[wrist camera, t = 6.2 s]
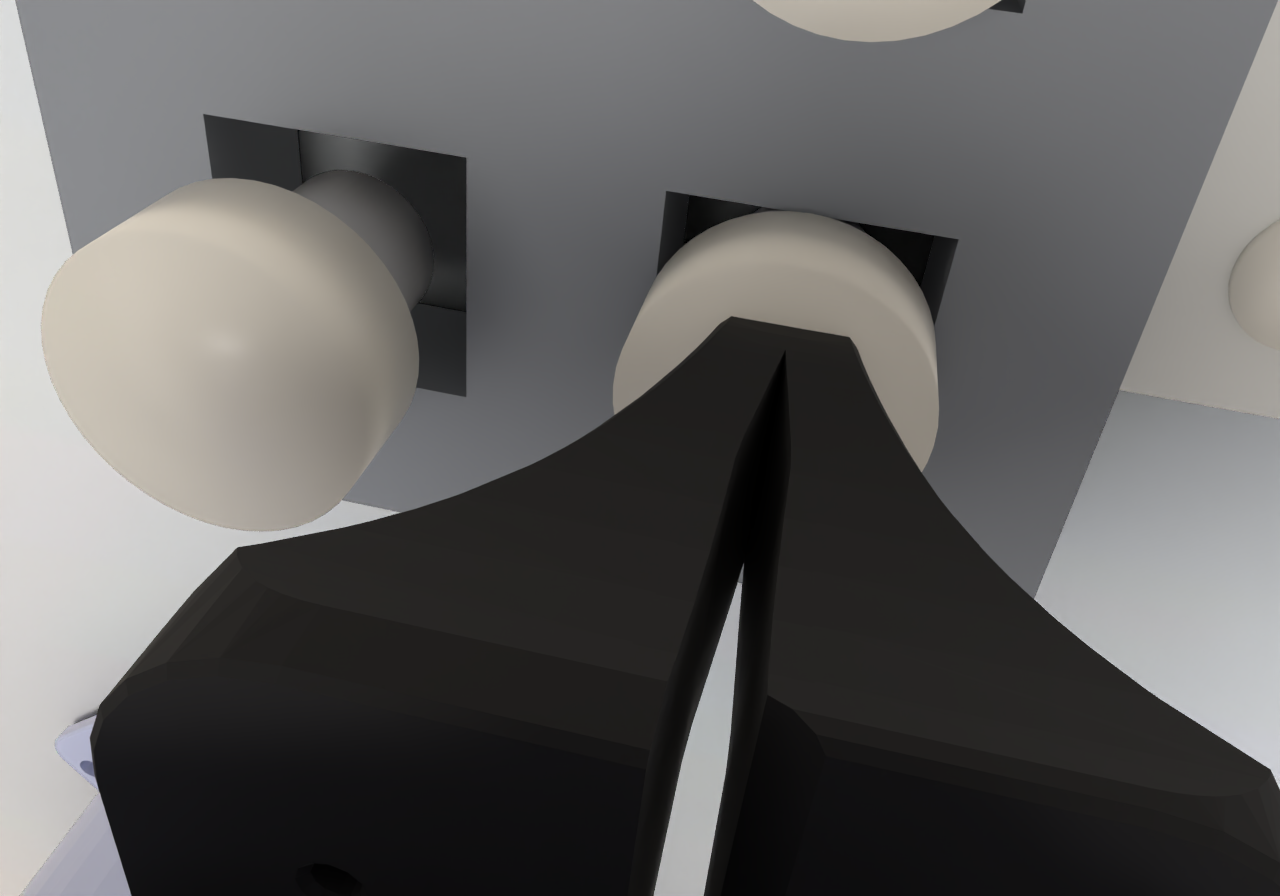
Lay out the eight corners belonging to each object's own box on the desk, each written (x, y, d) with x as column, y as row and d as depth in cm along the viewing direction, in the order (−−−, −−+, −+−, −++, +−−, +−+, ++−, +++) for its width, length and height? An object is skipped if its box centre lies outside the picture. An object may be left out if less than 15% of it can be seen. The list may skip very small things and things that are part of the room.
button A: (489, 135, 12) (355, 264, 9) (486, 386, 14) (374, 559, 11) (215, 91, 13) (4, 203, 10) (248, 340, 15) (80, 496, 12)
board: (1464, -702, 9) (1611, -815, 7) (1004, 538, 16) (1016, 639, 14) (2, -793, 10) (-191, -905, 8) (198, 380, 18) (117, 453, 16)
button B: (962, 167, 13) (979, 296, 10) (898, 401, 15) (896, 569, 12) (689, 124, 13) (625, 237, 10) (661, 358, 15) (601, 510, 12)
